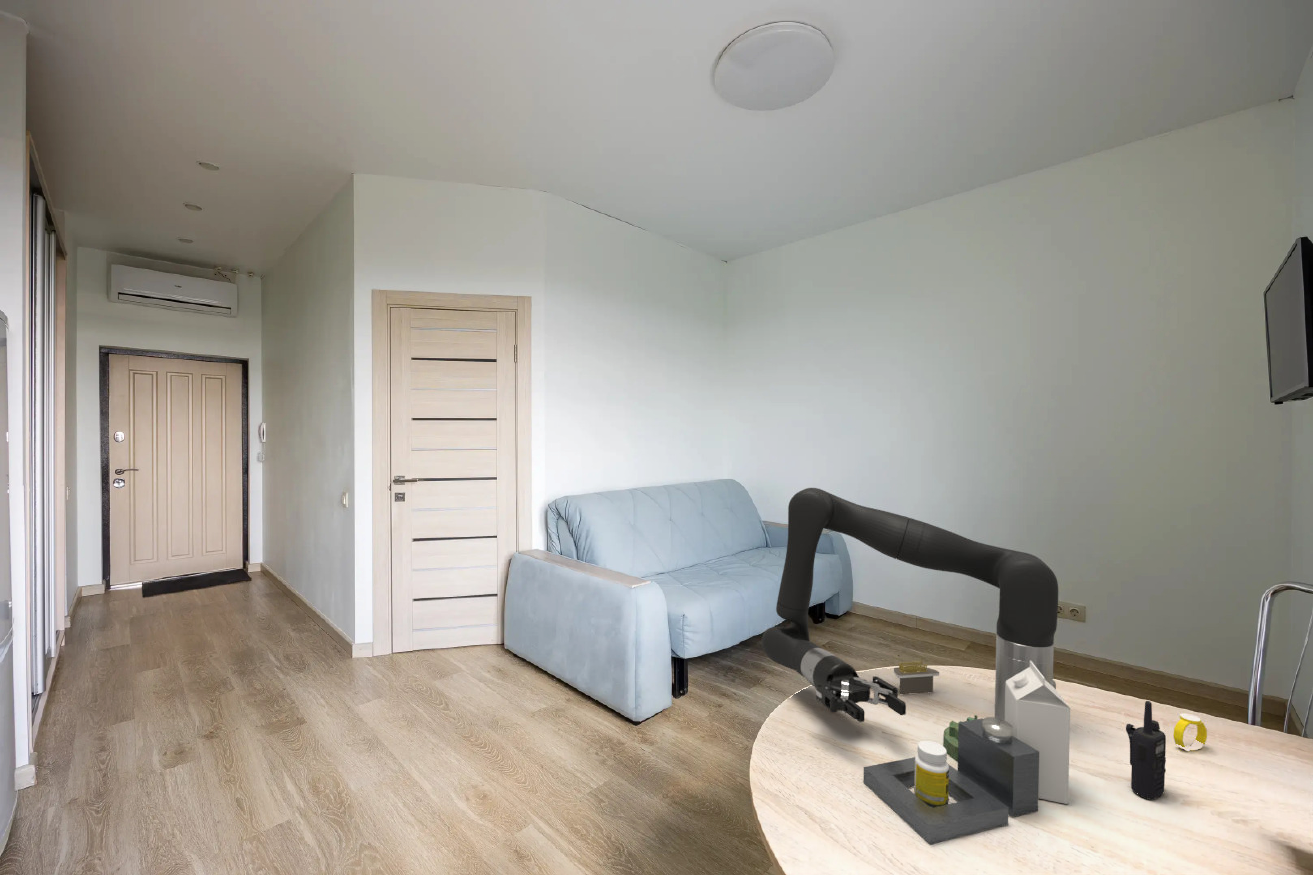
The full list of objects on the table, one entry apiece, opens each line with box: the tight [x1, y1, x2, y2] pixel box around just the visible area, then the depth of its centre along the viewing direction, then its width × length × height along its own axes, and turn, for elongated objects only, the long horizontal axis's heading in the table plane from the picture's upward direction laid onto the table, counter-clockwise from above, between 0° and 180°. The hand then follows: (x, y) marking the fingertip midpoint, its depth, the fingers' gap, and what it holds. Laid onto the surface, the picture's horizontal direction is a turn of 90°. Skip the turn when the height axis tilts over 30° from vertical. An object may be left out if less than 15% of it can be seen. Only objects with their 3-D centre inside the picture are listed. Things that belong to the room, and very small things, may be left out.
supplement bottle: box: [913, 740, 950, 808], centre depth 85 cm, size 5×5×8 cm
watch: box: [1172, 712, 1208, 747], centre depth 101 cm, size 6×3×6 cm, turn 102°
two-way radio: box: [1125, 700, 1167, 800], centre depth 89 cm, size 6×4×15 cm
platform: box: [893, 660, 940, 695], centre depth 122 cm, size 12×18×7 cm, turn 100°
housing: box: [863, 716, 1039, 845], centre depth 86 cm, size 21×14×11 cm, turn 107°
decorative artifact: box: [942, 714, 978, 763], centre depth 98 cm, size 10×7×10 cm
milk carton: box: [1005, 661, 1071, 805], centre depth 89 cm, size 7×7×19 cm
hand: (883, 713), depth 95 cm, fingers open, 8 cm apart
